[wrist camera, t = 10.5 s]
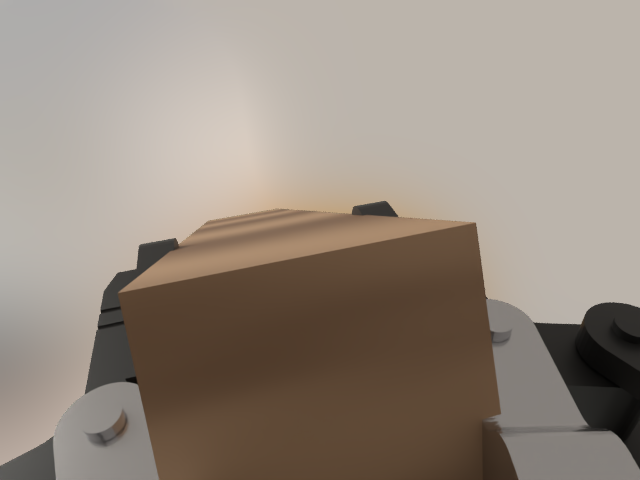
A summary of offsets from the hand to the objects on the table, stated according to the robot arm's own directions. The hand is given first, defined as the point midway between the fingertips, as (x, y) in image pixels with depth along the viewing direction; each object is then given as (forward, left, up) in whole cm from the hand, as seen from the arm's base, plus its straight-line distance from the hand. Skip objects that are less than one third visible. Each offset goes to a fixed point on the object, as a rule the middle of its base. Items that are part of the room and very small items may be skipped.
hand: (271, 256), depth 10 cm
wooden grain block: (+3, +5, -3) cm, 7 cm away
